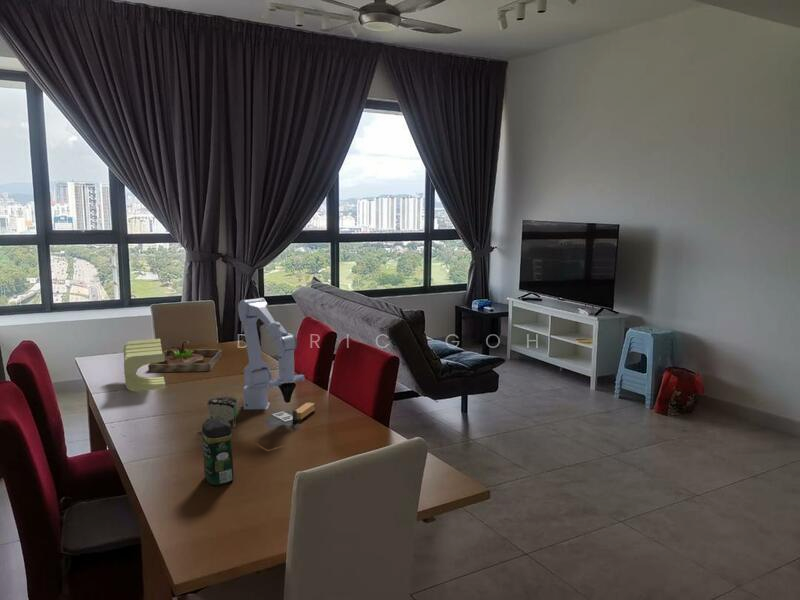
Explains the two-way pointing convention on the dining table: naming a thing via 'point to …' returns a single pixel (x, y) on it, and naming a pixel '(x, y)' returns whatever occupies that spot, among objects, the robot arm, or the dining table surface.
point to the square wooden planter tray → (187, 367)
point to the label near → (286, 418)
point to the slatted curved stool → (138, 356)
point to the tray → (277, 422)
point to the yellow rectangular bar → (305, 410)
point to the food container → (224, 409)
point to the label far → (280, 414)
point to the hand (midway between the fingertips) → (287, 401)
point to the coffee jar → (217, 451)
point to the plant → (183, 357)
